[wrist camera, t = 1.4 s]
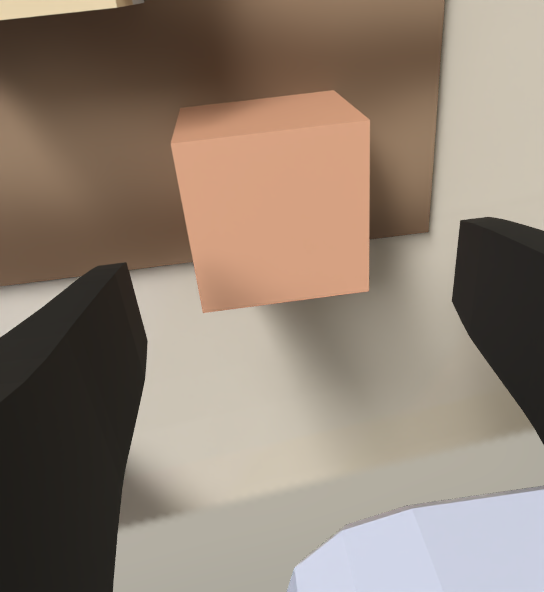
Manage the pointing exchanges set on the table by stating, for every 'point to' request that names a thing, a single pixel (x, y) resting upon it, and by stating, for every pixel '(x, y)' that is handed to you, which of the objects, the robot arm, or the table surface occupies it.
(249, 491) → the table surface
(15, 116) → the board
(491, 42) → the table surface
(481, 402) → the table surface
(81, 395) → the robot arm
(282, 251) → the block
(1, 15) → the slab top
